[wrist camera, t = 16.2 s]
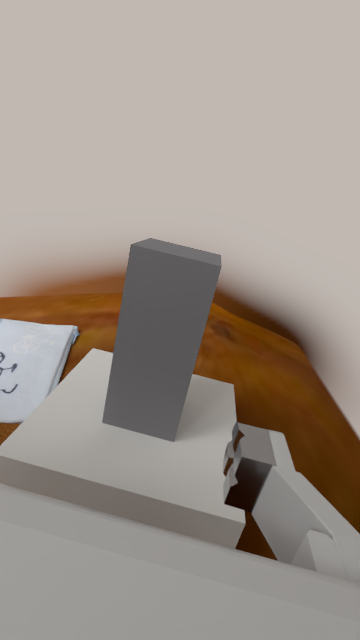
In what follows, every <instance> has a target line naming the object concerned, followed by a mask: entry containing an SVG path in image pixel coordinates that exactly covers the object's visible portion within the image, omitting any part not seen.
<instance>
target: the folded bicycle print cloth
mask: <svg viewBox="0 0 360 640" xmlns="http://www.w3.org/2000/svg"><path fill="white" fill-rule="evenodd" d="M77 328H78V327H77V326H72V325H45V324H38V323H32V322H24V321H16V320H8V319H0V423H20V424H22V422H23V421H24V420H25V419H26V418H27V417H28V416H29V415H30V414H31V413H32V412H33V411H34V410H35V409H36V408H37V407H38V406H39V405H40V404H41V402H42V401H43V400H44V399H45V398H46V397H47V396H48V395H49V394H50V393H51V392H52V391H53V390H54V389H55V388H56V387H57V386H58V384H59V380H60V377H61V374H62V371H63V368H64V366H65V363H66V360H67V356H68V353H69V350H70V347H71V345H73V343H74V341H75V339H76V337H77V336H78V335H80V334H79V333H78V330H77Z"/></svg>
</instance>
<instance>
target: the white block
mask: <svg viewBox="0 0 360 640" xmlns="http://www.w3.org/2000/svg"><path fill="white" fill-rule="evenodd" d="M112 358H113V353H109V352H106V351H102V350H98V349H94V348H93V349H92V350H91V351H90V352H89V353H88V354H87V355H86V356H85V357H84V358H83V359H82V360H81V361H80V362H79V364H78V365H77V366H76V367H75V368H74V369H73V370H72V371H71V372H70V373H69V374H68V375H67V376H66V377H65V378H64V379H63V380H62V381H61V382H60V384H59V385H58V386H57V387H56V388H55V389H54V390H53V391H52V392H51V393H50V394H49V395H48V396H47V397H46V398H45V399H44V400H43V401H42V402H41V404H40V405H39V406H38V407H37V408H36V409H35V410H34V411H33V412H32V413H31V414H30V415H29V416H28V417H27V418H26V419H25V420H24V421H23V422H22V424H21V425H20V426H19V427H18V428H17V429H16V430H15V431H14V432H13V433H12V434H11V435H10V436H9V437H8V438H7V439H6V440H5V441H4V442H3V443H2V445H1V446H0V483H1V484H4V485H8V486H11V487H15V488H19V489H22V490H26V491H29V492H33V493H37V494H40V495H44V496H47V497H51V498H55V499H58V500H62V501H65V502H69V503H73V504H76V505H80V506H83V507H87V508H90V509H94V510H97V511H101V512H105V513H108V514H112V515H115V516H119V517H122V518H126V519H129V520H133V521H136V522H140V523H144V524H147V525H151V526H154V527H158V528H161V529H165V530H168V531H172V532H175V533H179V534H183V535H186V536H190V537H193V538H197V539H201V540H204V541H208V542H212V543H215V544H219V545H222V546H226V547H230V548H233V549H235V548H236V545H237V543H238V541H239V538H240V536H241V533H242V531H243V529H244V526H245V524H246V522H245V511H244V510H242V509H238V508H235V507H232V506H229V505H225V504H224V493H223V484H224V482H225V479H226V477H225V475H224V474H223V460H224V455H225V450H226V447H227V444H228V442H230V441H232V430H233V427H234V425H235V423H236V422H237V419H236V408H235V396H234V385H233V384H229V383H225V382H221V381H217V380H214V379H210V378H206V377H202V376H198V375H194V374H192V377H191V381H190V385H189V388H188V392H187V396H186V399H185V403H184V407H183V410H182V414H181V418H180V422H179V425H178V429H177V433H176V436H175V440H174V442H171V441H167V440H164V439H160V438H156V437H153V436H149V435H145V434H142V433H138V432H134V431H130V430H127V429H123V428H119V427H116V426H112V425H108V424H105V423H102V419H103V413H104V407H105V401H106V395H107V389H108V382H109V376H110V370H111V364H112Z"/></svg>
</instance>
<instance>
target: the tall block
mask: <svg viewBox="0 0 360 640" xmlns="http://www.w3.org/2000/svg"><path fill="white" fill-rule="evenodd" d="M220 270H221V255H218V254H214V253H210V252H206V251H202V250H197V249H193V248H189V247H185V246H181V245H176V244H173V243H169V242H164V241H160V240H156V239H152V238H149V239H147V240H143V241H140V242H137V243H134V244H131V247H130V253H129V260H128V266H127V272H126V278H125V284H124V291H123V296H122V303H121V309H120V315H119V321H118V327H117V333H116V339H115V346H114V352H113V358H112V364H111V370H110V376H109V382H108V389H107V395H106V401H105V407H104V413H103V419H102V423H105V424H108V425H112V426H116V427H119V428H123V429H127V430H130V431H134V432H138V433H142V434H145V435H149V436H153V437H156V438H160V439H164V440H167V441H171V442H174V440H175V436H176V433H177V429H178V425H179V422H180V418H181V414H182V410H183V407H184V403H185V399H186V396H187V392H188V388H189V385H190V381H191V377H192V373H193V370H194V366H195V362H196V359H197V355H198V351H199V348H200V344H201V340H202V336H203V333H204V329H205V325H206V322H207V318H208V314H209V311H210V307H211V303H212V299H213V296H214V292H215V288H216V284H217V281H218V277H219V274H220Z"/></svg>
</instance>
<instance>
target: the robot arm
mask: <svg viewBox="0 0 360 640" xmlns="http://www.w3.org/2000/svg"><path fill="white" fill-rule="evenodd" d="M223 474H224V475H225V477H226V479H225V482H224V484H223V493H224V504H225V505H229V506H232V507H235V508H238V509H242V510H245V511H248V512H251V513H252V516H253V517H254V519H255V521H256V523H257V524H258V526H259V528H260V530H261V532H262V533H263V535H264V537H265V539H266V540H267V542H268V544H269V546H270V547H271V549H272V551H273V553H274V554H275V556H276V558H277V560H278V561H276V560H273V559H269V558H266V557H262V556H258V555H255V554H251V553H248V552H244V551H241V550H237V549H233V548H230V547H226V546H222V545H219V544H215V543H212V542H208V541H204V540H201V539H197V538H193V537H190V536H186V535H183V534H179V533H175V532H172V531H168V530H165V529H161V528H158V527H154V526H151V525H147V524H144V523H140V522H136V521H133V520H129V519H126V518H122V517H119V516H115V515H112V514H108V513H105V512H101V511H97V510H94V509H90V508H87V507H83V506H80V505H76V504H73V503H69V502H65V501H62V500H58V499H55V498H51V497H47V496H44V495H40V494H37V493H33V492H29V491H26V490H22V489H19V488H15V487H11V486H8V485H4V484H1V483H0V640H360V534H359V533H358V532H357V531H356V530H355V529H354V528H353V527H352V526H351V525H350V524H349V522H348V521H347V520H346V519H345V518H344V517H343V516H342V515H341V514H340V513H339V512H338V511H337V510H336V509H335V508H334V507H333V506H332V505H331V504H330V503H329V502H328V501H327V500H326V499H325V498H324V497H323V496H322V495H321V494H320V493H319V492H318V491H317V490H316V488H315V487H314V486H313V485H312V484H311V483H310V482H309V481H308V480H307V479H306V478H305V477H304V476H303V475H302V474H301V473H299V472H296V471H295V468H294V465H293V462H292V458H291V455H290V452H289V449H288V446H287V443H286V439H285V436H284V434H283V433H281V432H277V431H273V430H268V429H263V428H259V427H255V426H251V425H247V424H243V423H239V422H236V423H235V425H234V427H233V430H232V441H230V442H228V444H227V447H226V450H225V455H224V460H223Z"/></svg>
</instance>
